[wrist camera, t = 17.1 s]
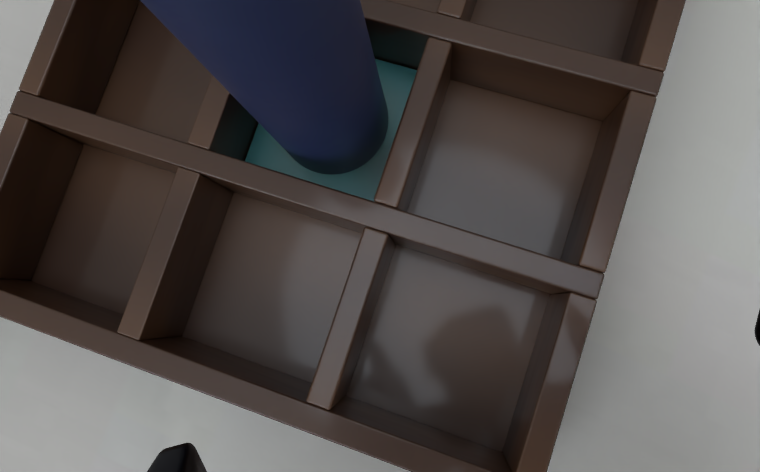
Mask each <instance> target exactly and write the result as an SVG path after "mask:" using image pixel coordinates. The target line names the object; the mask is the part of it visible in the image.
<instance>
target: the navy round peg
mask: <svg viewBox="0 0 760 472" xmlns="http://www.w3.org/2000/svg"><path fill="white" fill-rule="evenodd" d="M140 1H141V2H142V3H143V4H144V5H145V6H146V7H147V8H148V9H149V10H150V11H151V12H152V13H153V14H154V15H155V16H156V17H157V18H158V19H159V20H160V21H161V22H162V23H163V25H164V26H165V27H166V28H167V29H168V30H169V31H170V32H171V33H172V34H173V35H174V36H175V37H176V38H177V39H178V40H179V41H180V42H181V43H182V44H183V45H184V46H185V47H186V48H187V49H188V50H189V51H190V52H191V53H192V54H193V55H194V57H195V58H196V59H197V60H198V61H199V62H200V63H201V64H202V65H203V66H204V67H205V68H206V69H207V70H208V71H209V72H210V73H211V74H212V75H213V76H214V77H215V78H216V79H217V80H218V81H219V82H220V83H221V84H222V85H223V86H224V87H225V88H226V90H227V91H228V92H229V93H230V94H231V95H232V96H233V97H234V98H235V99H236V100H237V101H238V102H239V103H240V104H241V105H242V106H243V107H244V108H245V109H246V110H247V111H248V112H249V113H250V114H251V115H252V116H253V117H254V118H255V119H256V120H257V121H258V123H259V124H260V125H261V126H262V127H263V128H264V129H265V130H266V131H267V132H268V133H269V134H270V135H271V136H272V137H273V138H274V139H275V140H276V141H277V142H278V143H279V144H280V145H281V146H282V147H283V148H284V149H285V150H286V151H287V152H288V153H289V155H290V156H291V157H292V158H293V159H294V160H295V161H297V162H298V163H299V164H300V165H302V166H303V167H305V168H307V169H309V170H311V171H314V172H317V173H321V174H329V175H333V174H342V173H346V172H350V171H352V170H355V169H357V168H359V167H361V166H362V165H364V164H365V163H366V162H368V161H369V160H370V159H371V158H372V157H373V156H374V155H375V154H376V153H377V151H378V150H379V148H380V147H381V145H382V143H383V141H384V139H385V136H386V133H387V129H388V109H387V105H386V101H385V97H384V93H383V89H382V85H381V81H380V77H379V73H378V69H377V65H376V61H375V57H374V53H373V49H372V45H371V41H370V38H369V34H368V30H367V26H366V22H365V18H364V14H363V10H362V6H361V2H360V0H140Z"/></svg>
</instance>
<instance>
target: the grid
mask: <svg viewBox="0 0 760 472" xmlns="http://www.w3.org/2000/svg"><path fill="white" fill-rule="evenodd" d="M685 1H686V0H360V2H361V6H362V10H363V14H364V18H365V22H366V26H367V30H368V34H369V38H370V41H371V45H372V49H373V53H374V57H375V61H376V65H377V69H378V73H379V77H380V81H381V85H382V89H383V93H384V97H385V101H386V105H387V109H388V129H387V133H386V136H385V139H384V141H383V143H382V145H381V147H380V148H379V150H378V151H377V153H376V154H375V155H374V156H373V157H372V158H371V159H370V160H369V161H368V162H366V163H365V164H364V165H362V166H361V167H359V168H357V169H355V170H352V171H350V172H346V173H342V174H333V175H329V174H321V173H317V172H314V171H311V170H309V169H307V168H305V167H303V166H302V165H300V164H299V163H298V162H297V161H295V160H294V159H293V158H292V157H291V156H290V155H289V153H288V152H287V151H286V150H285V149H284V148H283V147H282V146H281V145H280V144H279V143H278V142H277V141H276V140H275V139H274V138H273V137H272V136H271V135H270V134H269V133H268V132H267V131H266V130H265V129H264V128H263V127H262V126H261V125H260V124H259V123H258V121H257V120H256V119H255V118H254V117H253V116H252V115H251V114H250V113H249V112H248V111H247V110H246V109H245V108H244V107H243V106H242V105H241V104H240V103H239V102H238V101H237V100H236V99H235V98H234V97H233V96H232V95H231V94H230V93H229V92H228V91H227V90H226V88H225V87H224V86H223V85H222V84H221V83H220V82H219V81H218V80H217V79H216V78H215V77H214V76H213V75H212V74H211V73H210V72H209V71H208V70H207V69H206V68H205V67H204V66H203V65H202V64H201V63H200V62H199V61H198V60H197V59H196V58H195V57H194V55H193V54H192V53H191V52H190V51H189V50H188V49H187V48H186V47H185V46H184V45H183V44H182V43H181V42H180V41H179V40H178V39H177V38H176V37H175V36H174V35H173V34H172V33H171V32H170V31H169V30H168V29H167V28H166V27H165V26H164V25H163V23H162V22H161V21H160V20H159V19H158V18H157V17H156V16H155V15H154V14H153V13H152V12H151V11H150V10H149V9H148V8H147V7H146V6H145V5H144V4H143V3H142V2H141V1H140V0H54V2H53V5H52V7H51V10H50V12H49V15H48V17H47V20H46V22H45V25H44V27H43V30H42V32H41V35H40V37H39V40H38V42H37V45H36V47H35V50H34V52H33V55H32V57H31V60H30V62H29V64H28V67H27V69H26V72H25V74H24V77H23V79H22V82H21V84H20V87H19V90H20V91H18V92H17V94H16V96H15V99H14V101H13V103H12V106H11V108H10V112H11V113H9V114H8V116H7V118H6V121H5V123H4V126H3V128H2V131H1V133H0V317H3V318H5V319H8V320H11V321H13V322H16V323H19V324H21V325H24V326H27V327H29V328H32V329H35V330H37V331H40V332H42V333H45V334H48V335H50V336H53V337H56V338H58V339H61V340H64V341H66V342H69V343H72V344H74V345H77V346H80V347H82V348H85V349H88V350H90V351H93V352H96V353H98V354H101V355H104V356H106V357H109V358H111V359H114V360H117V361H119V362H122V363H125V364H127V365H130V366H133V367H135V368H138V369H141V370H143V371H146V372H149V373H151V374H154V375H157V376H159V377H162V378H165V379H167V380H170V381H173V382H175V383H178V384H180V385H183V386H186V387H188V388H191V389H194V390H196V391H199V392H202V393H204V394H207V395H210V396H212V397H215V398H218V399H220V400H223V401H226V402H228V403H231V404H234V405H236V406H239V407H241V408H244V409H247V410H249V411H252V412H255V413H257V414H260V415H263V416H265V417H268V418H271V419H273V420H276V421H279V422H281V423H284V424H287V425H289V426H292V427H295V428H297V429H300V430H303V431H305V432H308V433H310V434H313V435H316V436H318V437H321V438H324V439H326V440H329V441H332V442H334V443H337V444H340V445H342V446H345V447H348V448H350V449H353V450H356V451H358V452H361V453H364V454H366V455H369V456H372V457H374V458H377V459H379V460H382V461H385V462H387V463H390V464H393V465H395V466H398V467H401V468H403V469H406V470H409V471H411V472H547V469H548V466H549V462H550V459H551V455H552V452H553V449H554V445H555V442H556V439H557V435H558V432H559V428H560V425H561V422H562V418H563V415H564V411H565V408H566V405H567V401H568V398H569V394H570V391H571V388H572V384H573V381H574V378H575V374H576V371H577V367H578V364H579V361H580V357H581V354H582V350H583V347H584V344H585V340H586V337H587V333H588V330H589V327H590V323H591V320H592V317H593V313H594V310H595V306H596V303H597V301H596V300H595V299H597V298H598V296H599V292H600V289H601V286H602V282H603V279H604V274H603V273H604V272H605V271H606V269H607V265H608V262H609V258H610V255H611V252H612V248H613V245H614V241H615V238H616V235H617V231H618V228H619V224H620V221H621V218H622V214H623V211H624V208H625V204H626V201H627V197H628V194H629V191H630V187H631V184H632V180H633V177H634V174H635V170H636V167H637V163H638V160H639V157H640V153H641V150H642V147H643V143H644V140H645V136H646V133H647V130H648V126H649V123H650V119H651V116H652V113H653V109H654V106H655V102H656V96H657V95H658V92H659V89H660V86H661V82H662V79H663V76H664V73H663V72H664V71H665V69H666V66H667V62H668V59H669V55H670V52H671V49H672V45H673V42H674V38H675V35H676V32H677V28H678V25H679V21H680V18H681V15H682V11H683V8H684V5H685Z"/></svg>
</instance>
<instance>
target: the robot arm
mask: <svg viewBox="0 0 760 472" xmlns="http://www.w3.org/2000/svg"><path fill="white" fill-rule="evenodd" d="M755 337H756V340H757V342H758V344H759V346H760V310H759V314H758V318H757V322H756V326H755ZM147 472H207V471H206V469H205V467H204V465H203V463H202V461H201V459H200V456H199V454H198V452H197V450H196V448H195V447H194V446H193V445H192V444H191V443H184V444H181V445H177V446H173V447H169V448H166V449H164V450H162V451H161V452H160V453H159V454H158V456H157V457H156V459H155V460H154V462H153V463H152V465H151V466H150V468H149V470H148V471H147Z"/></svg>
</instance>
